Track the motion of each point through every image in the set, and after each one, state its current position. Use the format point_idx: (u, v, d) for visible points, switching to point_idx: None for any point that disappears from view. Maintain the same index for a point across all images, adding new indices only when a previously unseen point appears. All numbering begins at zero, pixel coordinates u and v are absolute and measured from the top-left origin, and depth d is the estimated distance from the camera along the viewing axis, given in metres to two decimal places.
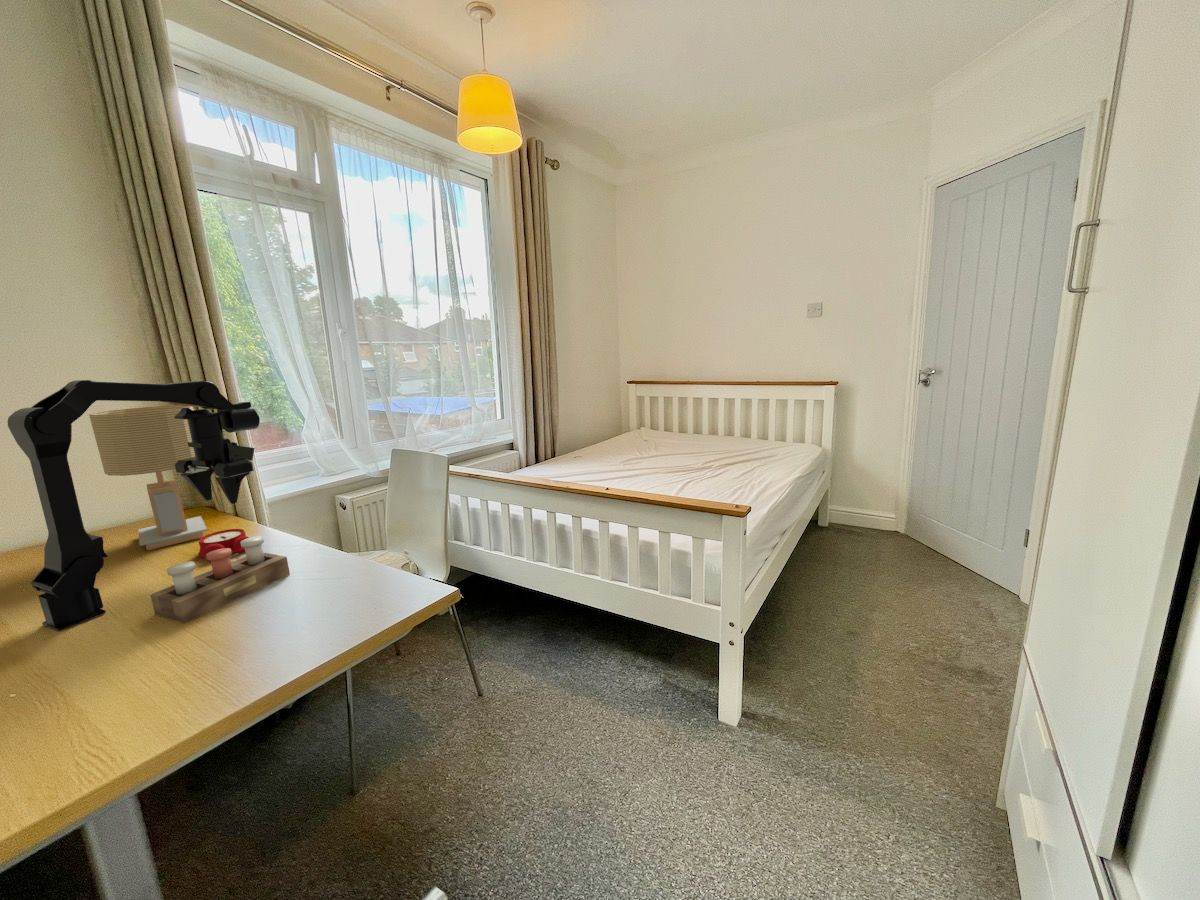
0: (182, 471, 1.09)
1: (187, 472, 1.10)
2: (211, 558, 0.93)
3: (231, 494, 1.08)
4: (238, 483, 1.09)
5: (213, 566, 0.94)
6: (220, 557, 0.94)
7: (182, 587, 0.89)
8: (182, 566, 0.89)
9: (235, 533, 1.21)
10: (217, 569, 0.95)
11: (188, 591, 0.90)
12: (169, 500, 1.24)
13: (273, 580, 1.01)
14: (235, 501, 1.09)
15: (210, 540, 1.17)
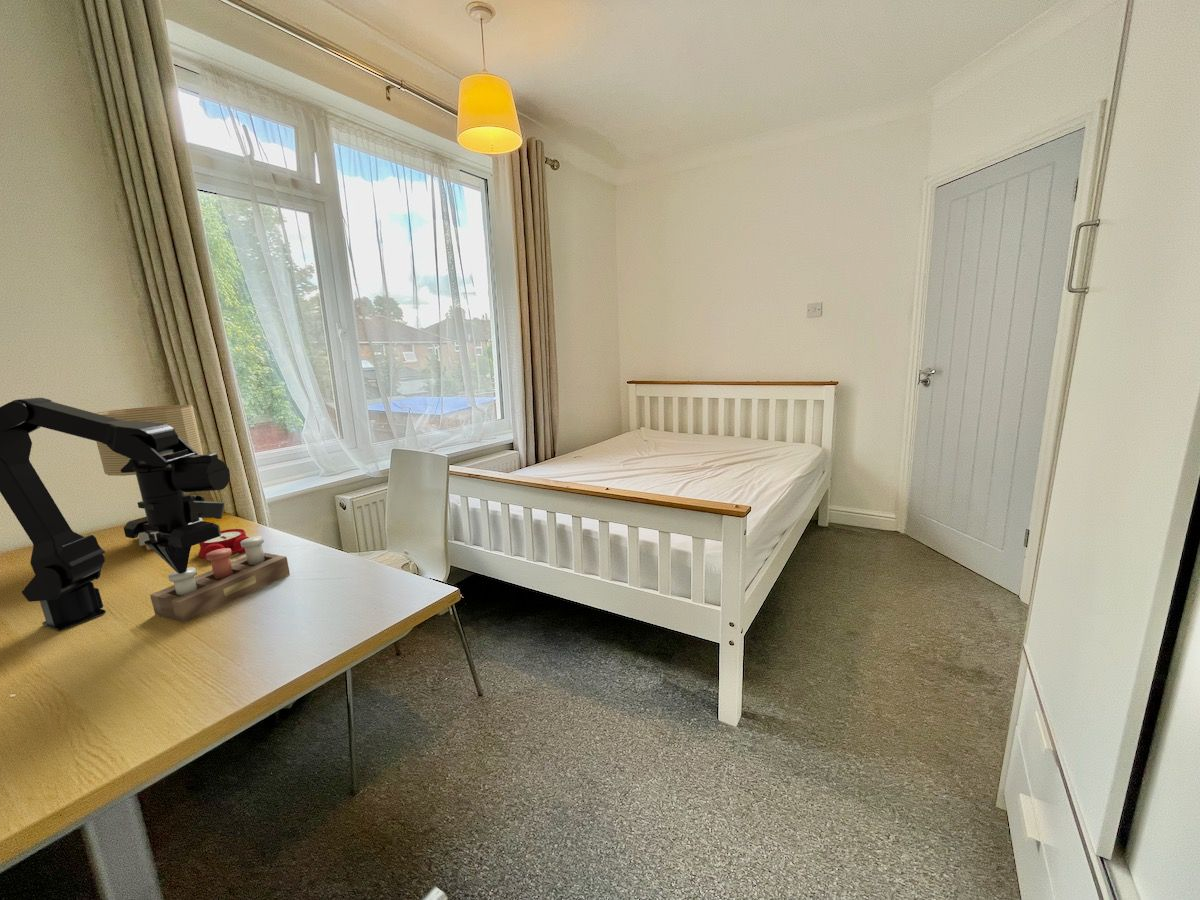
0: (132, 536, 0.88)
1: (153, 539, 0.87)
2: (211, 558, 0.93)
3: (178, 562, 0.88)
4: (187, 548, 0.89)
5: (213, 566, 0.94)
6: (220, 557, 0.94)
7: (184, 594, 0.89)
8: None
9: (235, 533, 1.21)
10: (217, 569, 0.95)
11: None
12: None
13: (273, 580, 1.01)
14: (184, 570, 0.90)
15: (210, 540, 1.17)
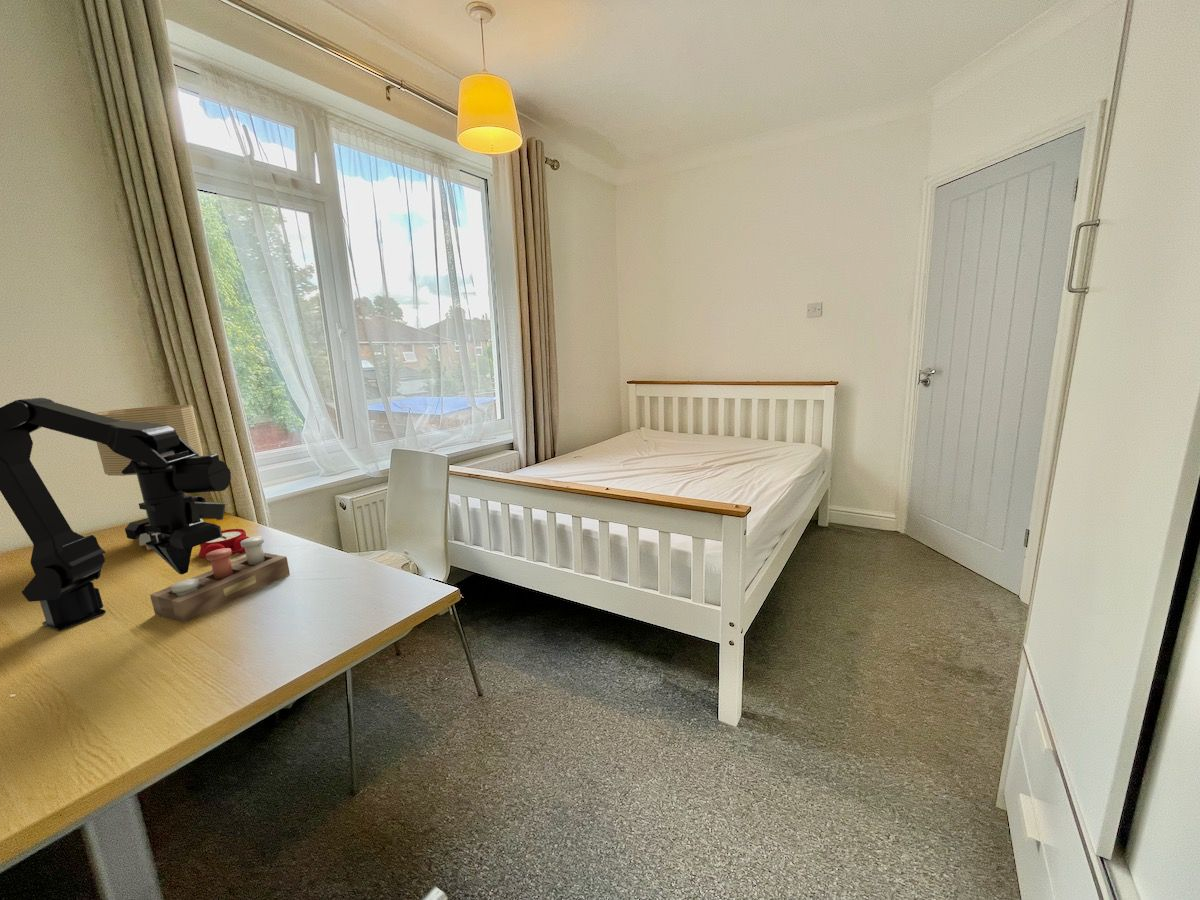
0: (134, 537, 0.88)
1: (154, 540, 0.87)
2: (211, 558, 0.93)
3: (179, 563, 0.88)
4: (189, 549, 0.89)
5: (213, 566, 0.94)
6: (220, 557, 0.94)
7: None
8: (186, 584, 0.90)
9: (235, 533, 1.21)
10: (217, 569, 0.95)
11: None
12: None
13: (273, 580, 1.01)
14: (185, 571, 0.90)
15: None
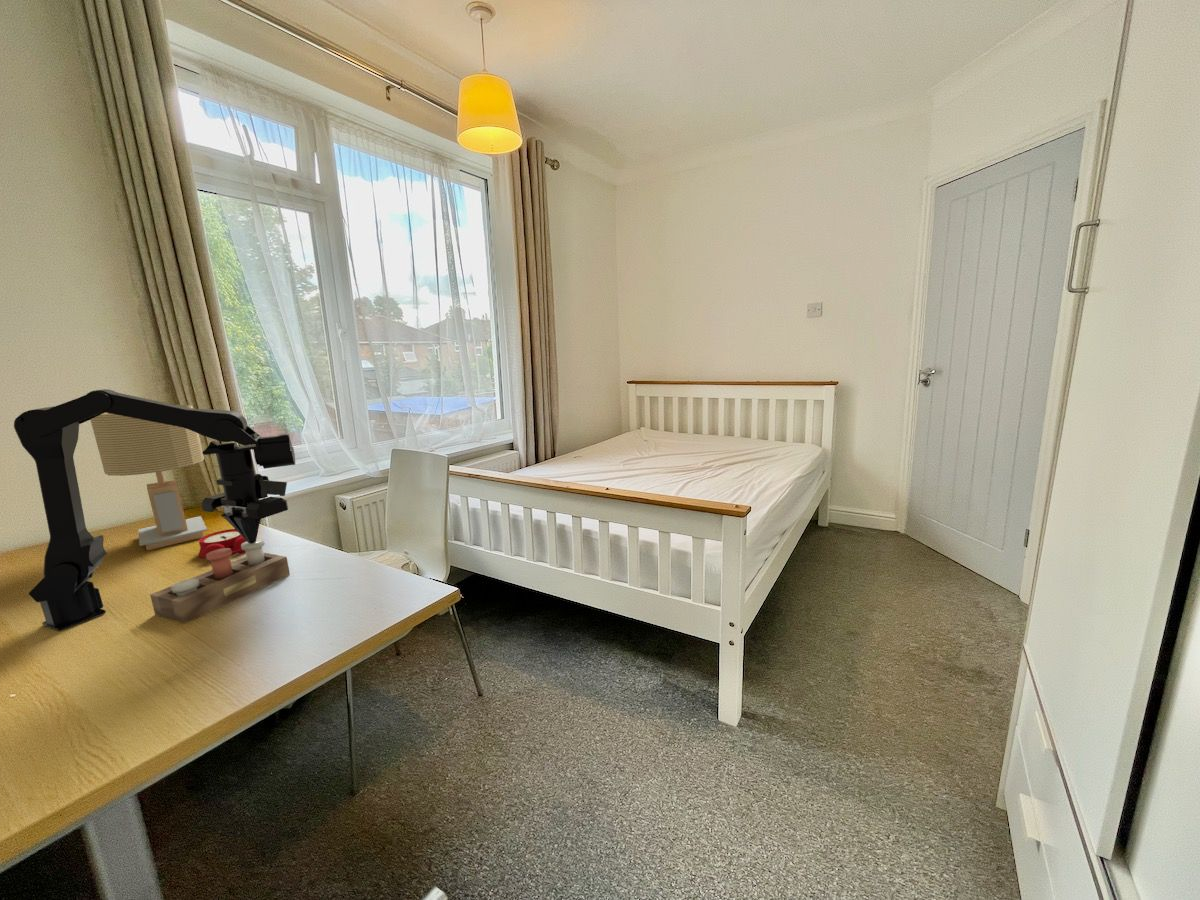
0: (210, 510, 0.99)
1: (228, 512, 0.99)
2: (211, 558, 0.93)
3: (250, 533, 1.00)
4: (257, 521, 1.01)
5: (213, 566, 0.94)
6: (220, 557, 0.94)
7: None
8: (186, 584, 0.90)
9: (235, 533, 1.21)
10: (217, 569, 0.95)
11: None
12: (169, 500, 1.24)
13: (273, 580, 1.01)
14: (254, 540, 1.01)
15: (210, 540, 1.17)
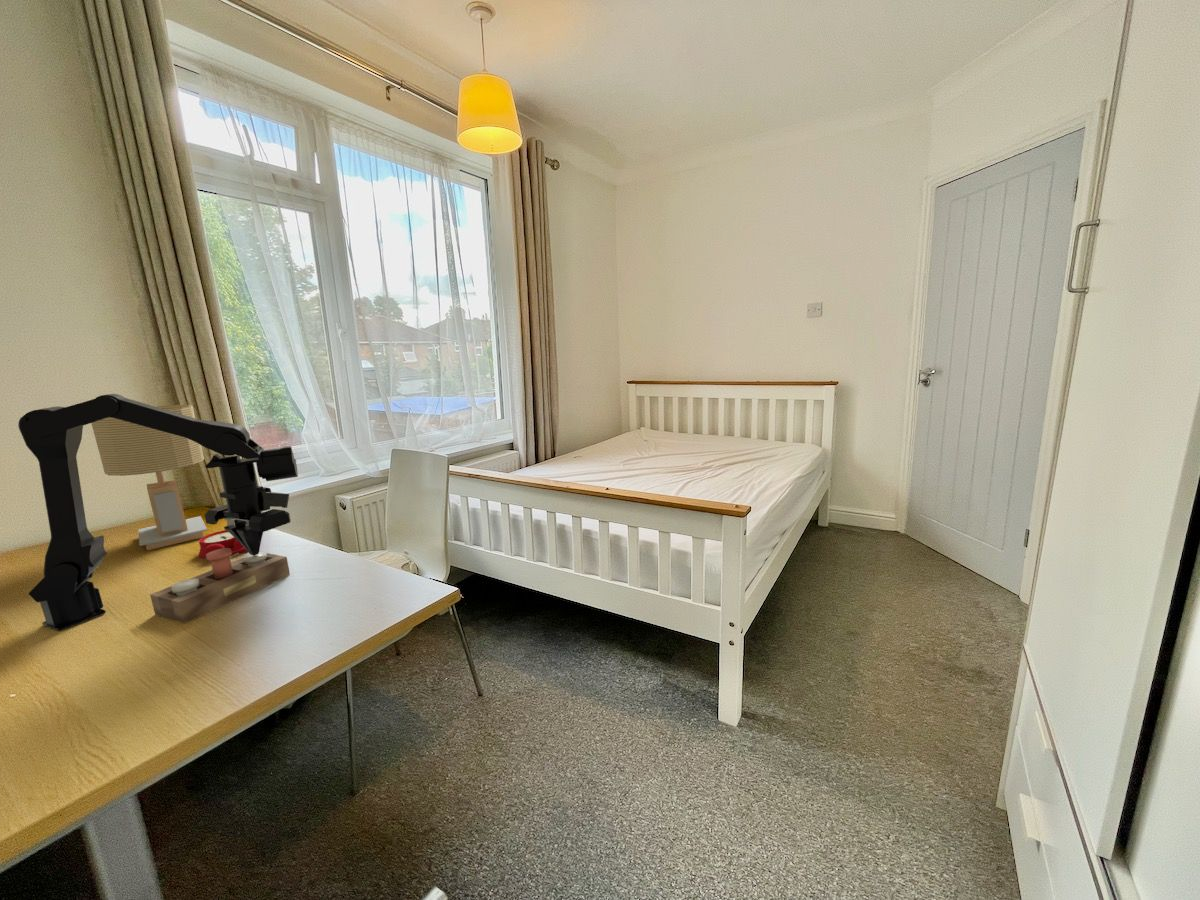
0: (213, 522, 1.00)
1: (231, 525, 0.99)
2: (211, 558, 0.93)
3: (252, 545, 1.00)
4: (260, 533, 1.01)
5: (213, 566, 0.94)
6: (220, 557, 0.94)
7: None
8: (186, 584, 0.90)
9: None
10: (217, 569, 0.95)
11: None
12: (169, 500, 1.24)
13: (273, 580, 1.01)
14: (257, 552, 1.02)
15: (210, 540, 1.17)
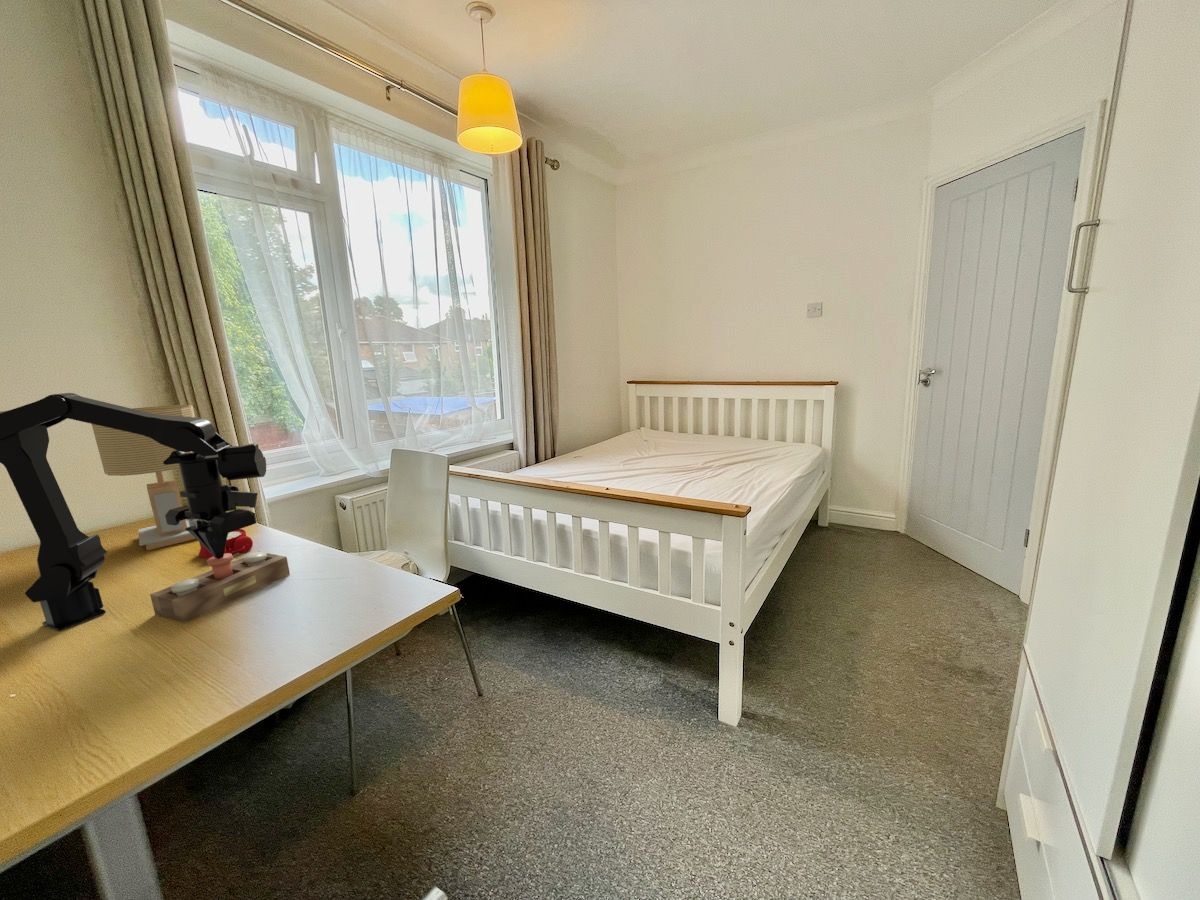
0: (174, 523, 0.94)
1: (193, 526, 0.93)
2: (212, 563, 0.94)
3: (216, 548, 0.94)
4: (225, 535, 0.95)
5: (214, 571, 0.95)
6: (221, 562, 0.94)
7: None
8: (186, 584, 0.90)
9: (236, 533, 1.21)
10: (218, 574, 0.95)
11: None
12: (169, 500, 1.24)
13: (273, 580, 1.01)
14: (221, 555, 0.95)
15: None
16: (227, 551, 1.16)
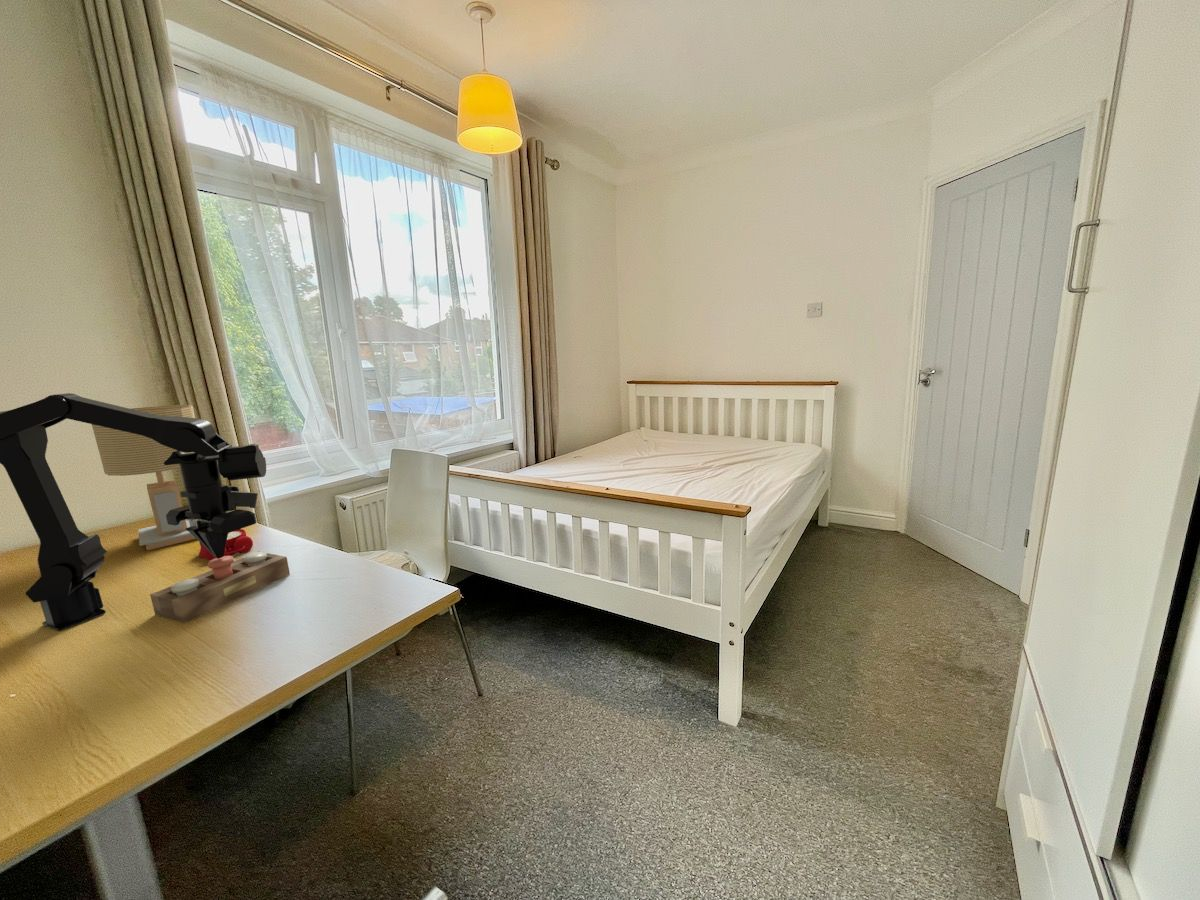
0: (174, 523, 0.94)
1: (193, 526, 0.93)
2: (213, 566, 0.94)
3: (216, 548, 0.94)
4: (225, 535, 0.95)
5: (215, 574, 0.95)
6: (222, 565, 0.94)
7: None
8: (186, 584, 0.90)
9: (236, 533, 1.21)
10: (219, 577, 0.95)
11: None
12: (169, 500, 1.24)
13: (273, 580, 1.01)
14: (221, 555, 0.96)
15: None
16: (227, 551, 1.16)
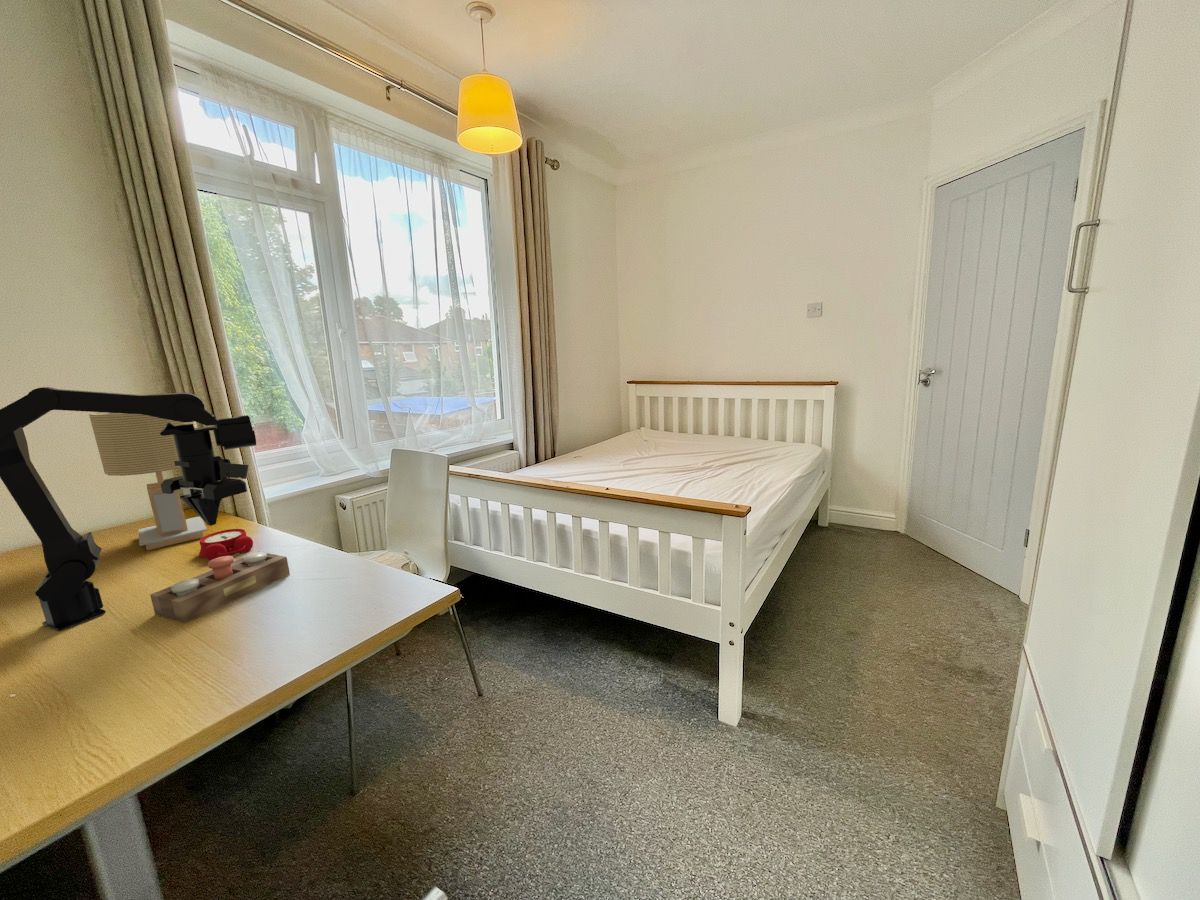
0: (169, 492, 0.99)
1: (187, 494, 0.99)
2: (213, 566, 0.94)
3: (209, 515, 1.00)
4: (217, 503, 1.00)
5: (215, 574, 0.95)
6: (222, 565, 0.94)
7: None
8: (186, 584, 0.90)
9: (236, 533, 1.21)
10: (219, 577, 0.95)
11: None
12: (169, 500, 1.24)
13: (273, 580, 1.01)
14: (214, 523, 1.01)
15: (211, 540, 1.17)
16: (227, 551, 1.16)
